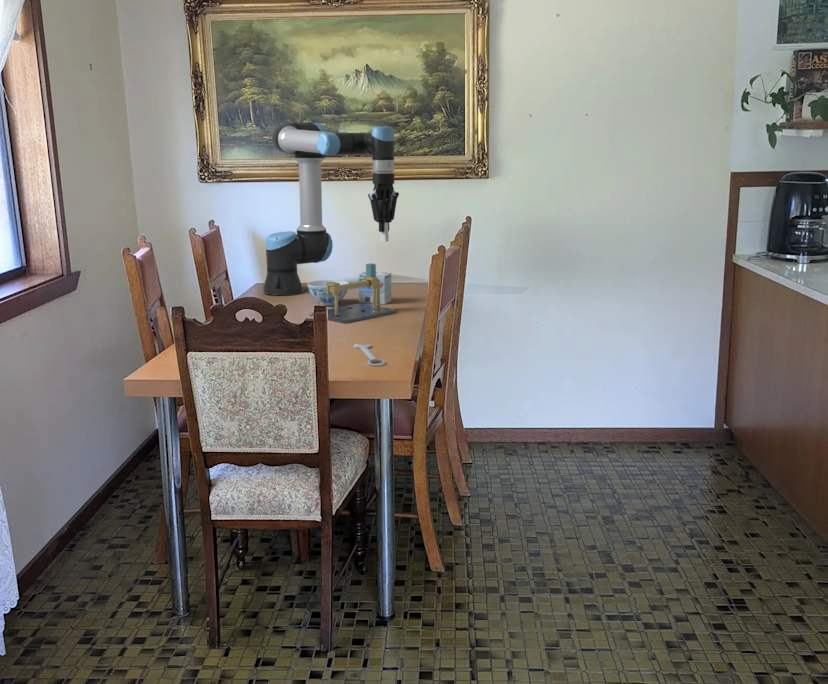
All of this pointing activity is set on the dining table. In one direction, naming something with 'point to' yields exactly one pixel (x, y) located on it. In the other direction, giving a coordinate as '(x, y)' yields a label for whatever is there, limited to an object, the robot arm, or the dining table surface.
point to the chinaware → (325, 292)
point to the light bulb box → (385, 288)
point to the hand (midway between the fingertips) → (384, 241)
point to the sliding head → (372, 279)
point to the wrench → (369, 355)
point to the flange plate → (357, 312)
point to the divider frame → (336, 288)
